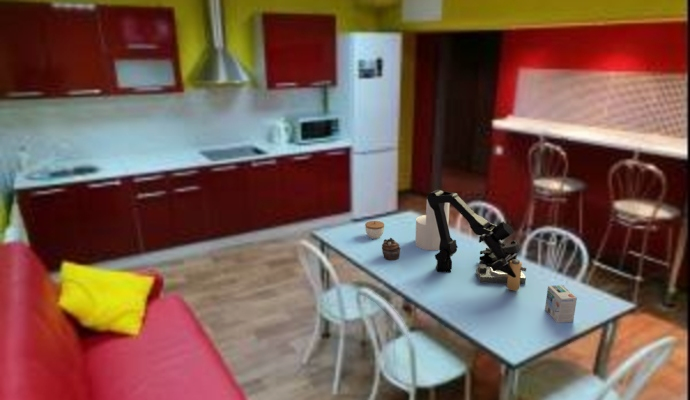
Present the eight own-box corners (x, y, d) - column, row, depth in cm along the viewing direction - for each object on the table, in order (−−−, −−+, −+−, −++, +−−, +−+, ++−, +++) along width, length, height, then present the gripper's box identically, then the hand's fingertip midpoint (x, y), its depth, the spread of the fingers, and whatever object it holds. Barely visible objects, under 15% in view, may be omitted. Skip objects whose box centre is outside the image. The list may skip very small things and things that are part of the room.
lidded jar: (384, 240, 266) (384, 224, 263) (365, 240, 266) (365, 224, 264) (383, 233, 276) (383, 217, 273) (365, 233, 277) (364, 218, 274)
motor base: (480, 282, 217) (480, 273, 216) (476, 272, 227) (476, 263, 225) (525, 283, 216) (526, 273, 214) (519, 273, 225) (520, 264, 224)
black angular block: (503, 266, 233) (505, 254, 231) (492, 269, 230) (493, 256, 228) (489, 258, 241) (490, 246, 239) (478, 261, 238) (479, 249, 236)
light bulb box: (544, 308, 195) (547, 285, 192) (560, 307, 196) (563, 284, 193) (557, 323, 185) (560, 298, 182) (574, 322, 186) (577, 297, 182)
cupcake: (391, 263, 239) (391, 244, 236) (377, 257, 246) (378, 239, 243) (404, 257, 245) (405, 239, 242) (390, 251, 252) (391, 234, 248)
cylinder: (452, 241, 263) (454, 193, 254) (440, 252, 249) (442, 202, 240) (423, 235, 272) (424, 188, 263) (410, 246, 258) (411, 196, 249)
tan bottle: (504, 288, 210) (507, 261, 206) (509, 283, 214) (512, 257, 210) (521, 292, 206) (524, 265, 201) (525, 288, 209) (528, 261, 205)
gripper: (500, 243, 198) (524, 274, 195) (516, 229, 212) (539, 258, 209) (481, 255, 205) (504, 286, 202) (498, 241, 219) (519, 270, 216)
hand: (517, 274), depth 207 cm, fingers closed on tan bottle, 5 cm apart
